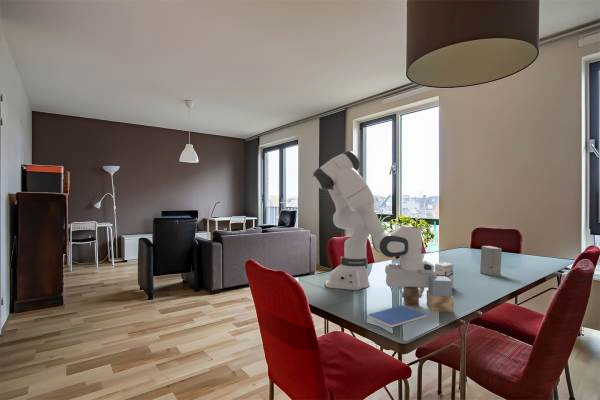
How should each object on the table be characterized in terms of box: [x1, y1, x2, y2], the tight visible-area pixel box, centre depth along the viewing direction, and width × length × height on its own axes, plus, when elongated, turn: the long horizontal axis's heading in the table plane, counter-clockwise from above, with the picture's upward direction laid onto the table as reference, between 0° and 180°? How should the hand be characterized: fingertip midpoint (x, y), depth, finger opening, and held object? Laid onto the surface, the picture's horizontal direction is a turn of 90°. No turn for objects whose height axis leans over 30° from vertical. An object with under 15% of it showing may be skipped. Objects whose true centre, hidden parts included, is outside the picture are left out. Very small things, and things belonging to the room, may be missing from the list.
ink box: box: [434, 261, 454, 289], centre depth 150 cm, size 8×5×12 cm, turn 123°
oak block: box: [426, 289, 455, 313], centre depth 122 cm, size 8×8×6 cm
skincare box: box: [479, 245, 503, 277], centre depth 176 cm, size 8×7×16 cm
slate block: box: [427, 276, 453, 297], centre depth 122 cm, size 7×7×6 cm
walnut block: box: [403, 287, 420, 307], centre depth 127 cm, size 5×5×7 cm
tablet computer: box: [366, 305, 428, 328], centre depth 114 cm, size 19×13×1 cm, turn 121°
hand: (411, 297), depth 127 cm, fingers closed on walnut block, 5 cm apart
